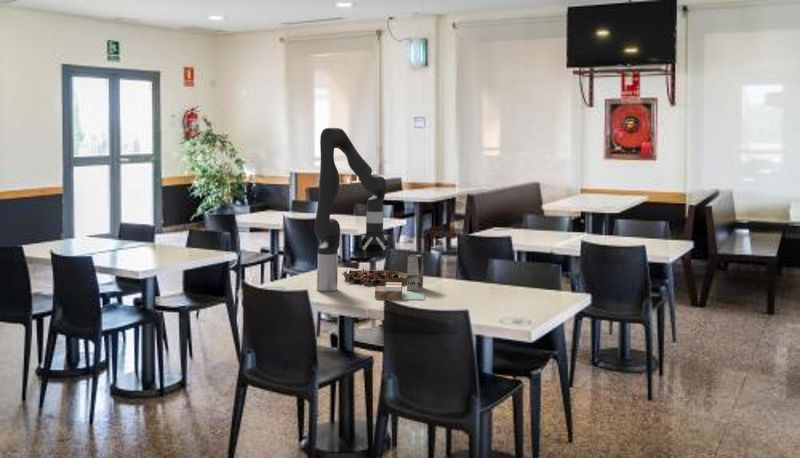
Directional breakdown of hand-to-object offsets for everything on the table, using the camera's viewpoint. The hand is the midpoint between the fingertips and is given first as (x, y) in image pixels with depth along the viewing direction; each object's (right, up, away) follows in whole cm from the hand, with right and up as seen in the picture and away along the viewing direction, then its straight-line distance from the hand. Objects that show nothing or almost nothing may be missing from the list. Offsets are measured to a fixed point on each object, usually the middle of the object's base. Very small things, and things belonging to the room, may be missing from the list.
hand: (374, 257), depth 371 cm
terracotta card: (+9, -14, +8) cm, 18 cm away
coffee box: (+19, -16, +24) cm, 34 cm away
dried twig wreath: (0, -14, +43) cm, 45 cm away
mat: (+18, -18, +5) cm, 26 cm away
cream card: (+9, -15, +1) cm, 17 cm away
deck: (+6, -18, +5) cm, 19 cm away
